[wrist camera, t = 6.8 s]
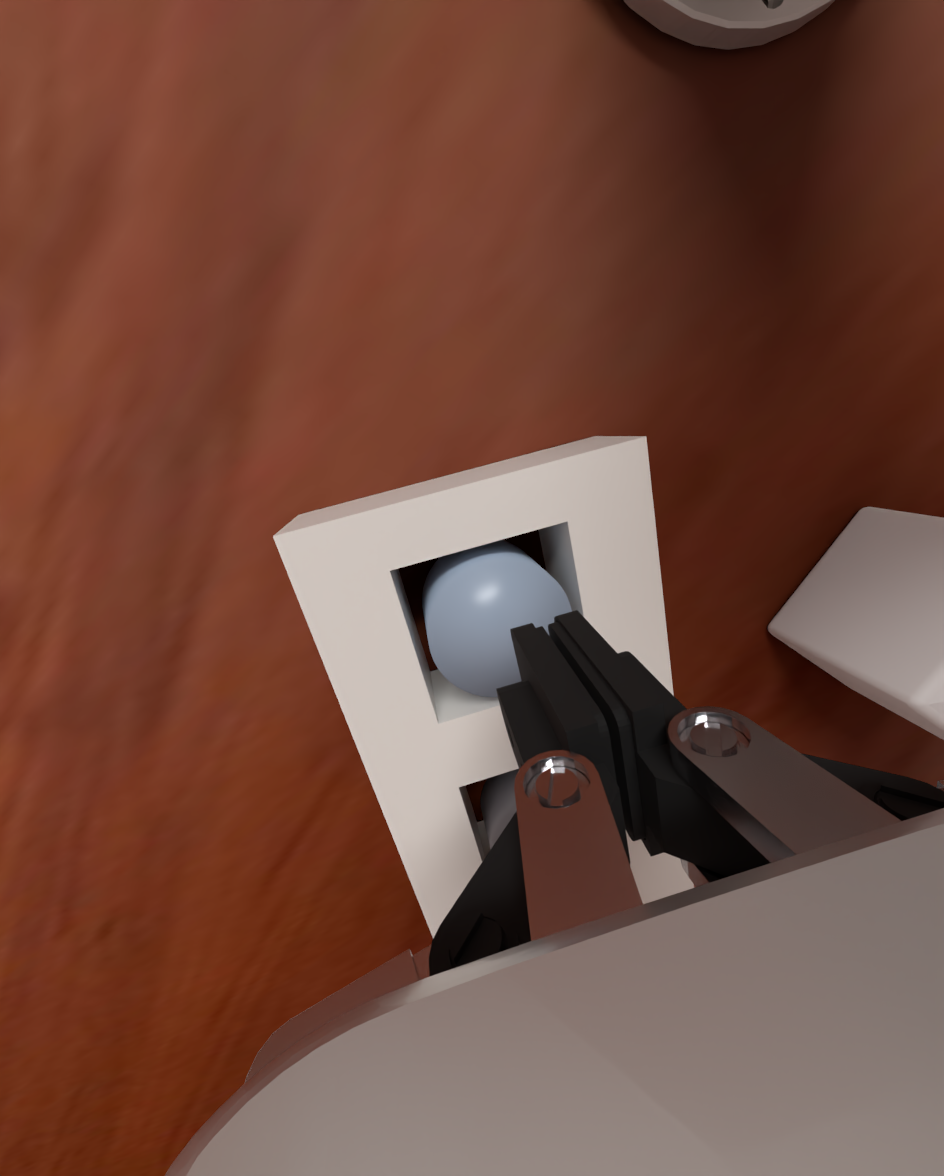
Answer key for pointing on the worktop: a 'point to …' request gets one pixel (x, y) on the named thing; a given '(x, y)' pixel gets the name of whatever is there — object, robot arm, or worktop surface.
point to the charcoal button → (498, 803)
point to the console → (426, 698)
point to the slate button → (485, 613)
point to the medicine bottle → (877, 613)
